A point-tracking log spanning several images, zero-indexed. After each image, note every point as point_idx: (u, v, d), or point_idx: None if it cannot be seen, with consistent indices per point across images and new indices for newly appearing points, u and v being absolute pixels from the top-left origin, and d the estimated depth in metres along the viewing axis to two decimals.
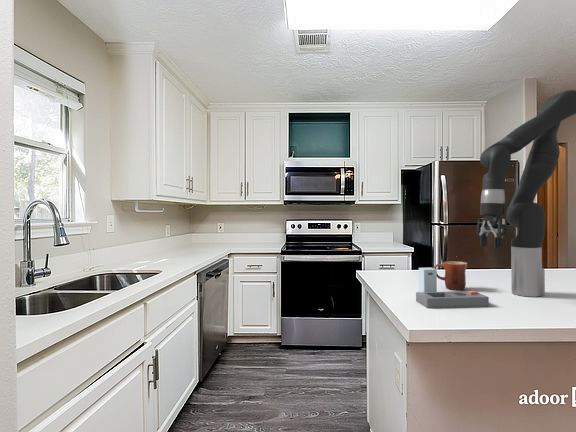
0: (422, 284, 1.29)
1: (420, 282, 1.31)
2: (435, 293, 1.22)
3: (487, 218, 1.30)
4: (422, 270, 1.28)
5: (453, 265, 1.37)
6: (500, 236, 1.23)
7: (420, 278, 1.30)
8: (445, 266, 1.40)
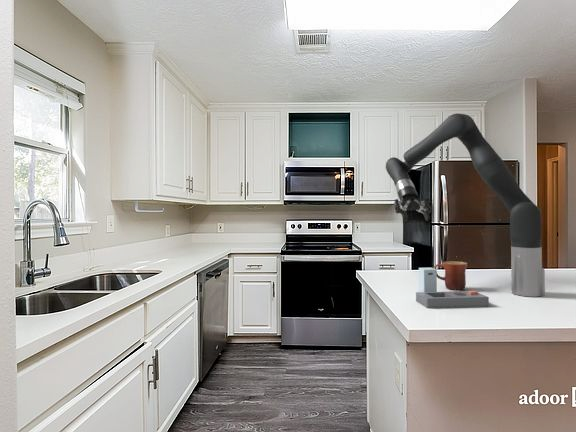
0: (422, 284, 1.29)
1: (420, 282, 1.31)
2: (435, 293, 1.22)
3: None
4: (422, 270, 1.28)
5: (453, 265, 1.37)
6: (399, 212, 1.45)
7: (420, 278, 1.30)
8: (445, 266, 1.40)
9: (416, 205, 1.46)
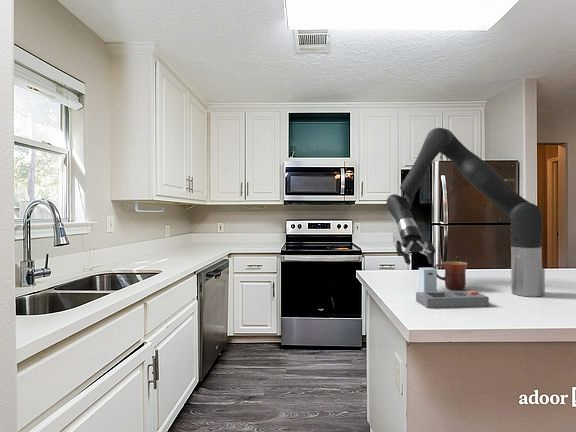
0: (422, 284, 1.29)
1: (420, 282, 1.31)
2: (435, 293, 1.22)
3: None
4: (422, 270, 1.28)
5: (453, 265, 1.37)
6: (401, 255, 1.39)
7: (420, 278, 1.30)
8: (445, 266, 1.40)
9: (419, 247, 1.40)
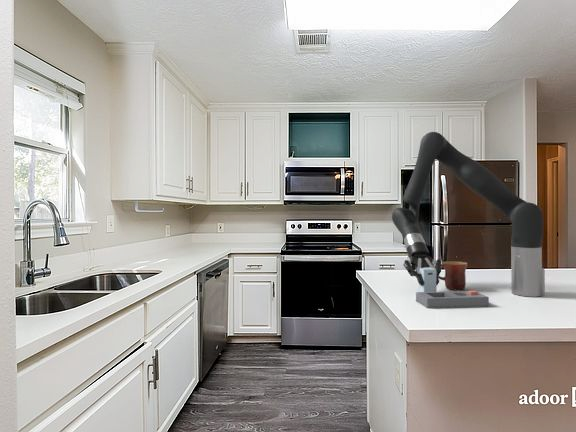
0: None
1: None
2: (435, 293, 1.22)
3: None
4: (422, 270, 1.28)
5: (453, 265, 1.37)
6: (413, 275, 1.31)
7: None
8: (445, 266, 1.40)
9: (425, 264, 1.32)
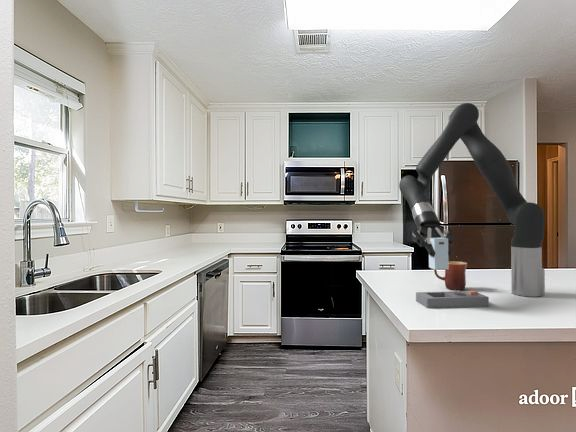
0: None
1: None
2: (435, 293, 1.22)
3: None
4: (432, 239, 1.17)
5: (453, 265, 1.37)
6: (423, 246, 1.20)
7: None
8: None
9: (436, 234, 1.21)
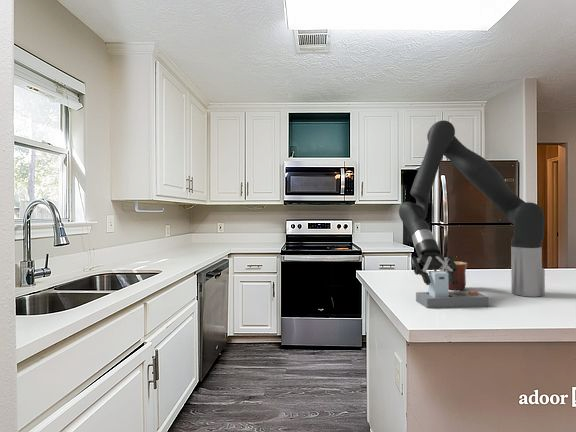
0: (433, 290, 1.17)
1: (430, 287, 1.19)
2: None
3: None
4: (432, 274, 1.17)
5: None
6: (418, 273, 1.20)
7: (430, 283, 1.19)
8: None
9: (438, 264, 1.21)
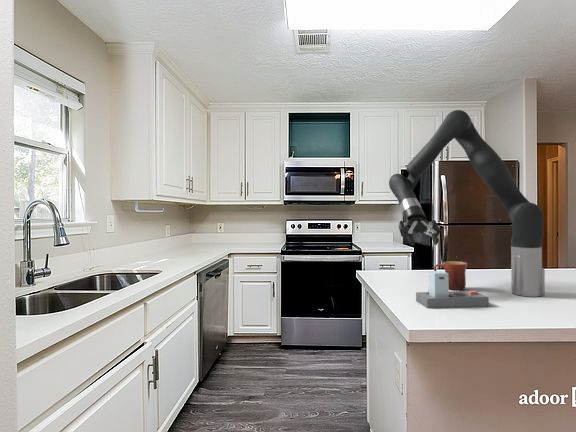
0: (433, 290, 1.17)
1: (430, 287, 1.19)
2: None
3: None
4: (432, 274, 1.17)
5: (453, 265, 1.37)
6: (404, 235, 1.32)
7: (430, 283, 1.19)
8: (445, 266, 1.40)
9: (423, 227, 1.33)
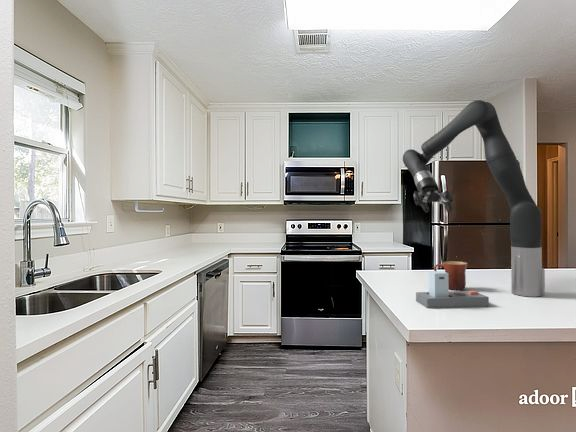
0: (433, 290, 1.17)
1: (430, 287, 1.19)
2: None
3: None
4: (432, 274, 1.17)
5: (453, 265, 1.37)
6: (419, 204, 1.40)
7: (430, 283, 1.19)
8: (445, 266, 1.40)
9: (437, 196, 1.41)
